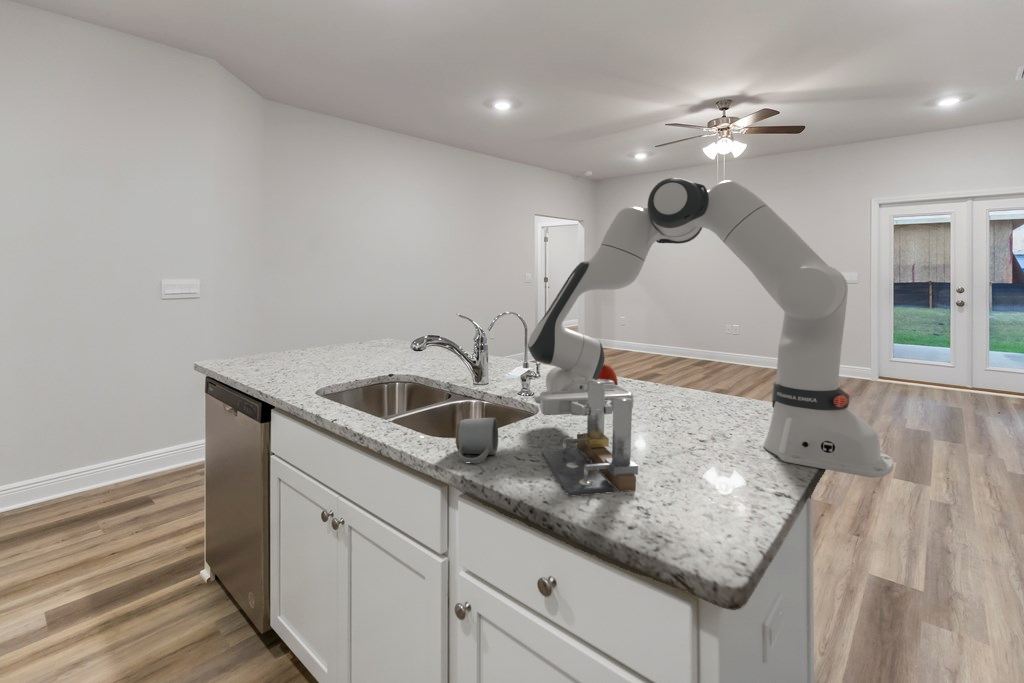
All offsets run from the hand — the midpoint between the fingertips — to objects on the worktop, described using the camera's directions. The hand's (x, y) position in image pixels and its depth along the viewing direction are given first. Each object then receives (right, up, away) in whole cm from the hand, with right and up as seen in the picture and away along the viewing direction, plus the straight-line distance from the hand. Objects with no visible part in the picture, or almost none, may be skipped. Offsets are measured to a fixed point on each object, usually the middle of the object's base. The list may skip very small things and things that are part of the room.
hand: (597, 411), depth 99 cm
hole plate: (-5, -11, -5) cm, 13 cm away
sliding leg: (-2, -9, +2) cm, 9 cm away
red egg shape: (+11, -3, +50) cm, 52 cm away
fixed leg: (0, -10, -11) cm, 15 cm away
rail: (+1, -10, -2) cm, 11 cm away
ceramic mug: (-24, -10, +4) cm, 27 cm away
